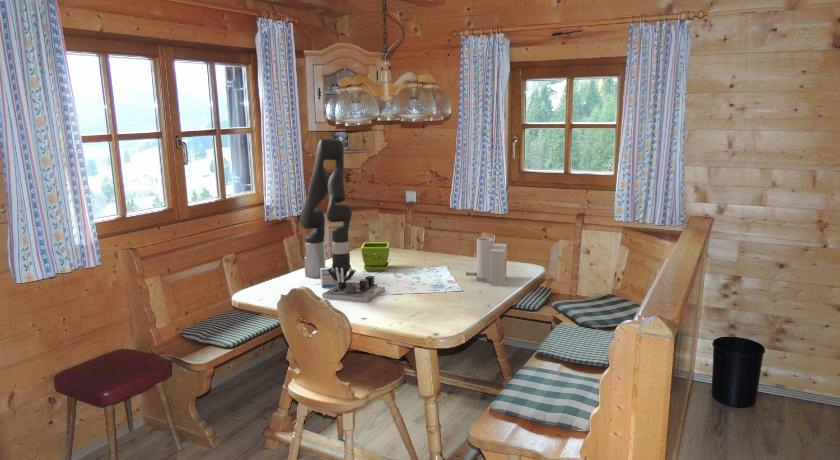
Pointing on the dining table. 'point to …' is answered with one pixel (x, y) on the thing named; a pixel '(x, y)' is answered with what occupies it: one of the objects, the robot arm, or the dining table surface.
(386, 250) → the flower pot
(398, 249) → the dining table surface
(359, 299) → the grey peg board
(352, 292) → the breaker
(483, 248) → the light grey tall pieces
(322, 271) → the medicine box
